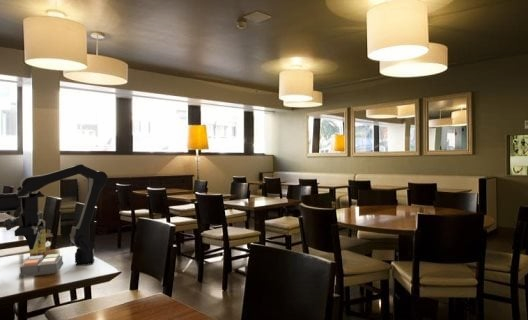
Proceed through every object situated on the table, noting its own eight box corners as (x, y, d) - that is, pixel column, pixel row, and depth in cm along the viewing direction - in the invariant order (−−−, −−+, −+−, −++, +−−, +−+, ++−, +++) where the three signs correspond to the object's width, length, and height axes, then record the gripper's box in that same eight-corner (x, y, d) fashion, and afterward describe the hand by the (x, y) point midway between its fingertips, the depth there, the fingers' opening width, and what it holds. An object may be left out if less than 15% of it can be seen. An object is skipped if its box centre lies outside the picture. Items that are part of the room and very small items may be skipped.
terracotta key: (39, 264, 146) (39, 259, 145) (36, 267, 141) (36, 262, 141) (26, 265, 144) (26, 260, 144) (23, 268, 140) (23, 263, 140)
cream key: (56, 262, 147) (56, 257, 147) (54, 265, 143) (54, 260, 143) (44, 263, 146) (44, 258, 146) (41, 266, 142) (41, 261, 142)
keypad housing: (63, 263, 155) (63, 255, 154) (57, 272, 143) (56, 263, 143) (28, 267, 150) (28, 258, 150) (19, 276, 139) (19, 267, 139)
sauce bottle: (40, 257, 164) (39, 213, 163) (26, 258, 164) (25, 213, 163) (49, 253, 170) (48, 211, 170) (35, 253, 170) (34, 211, 170)
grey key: (43, 260, 151) (43, 255, 151) (40, 263, 147) (40, 258, 147) (31, 261, 150) (30, 256, 150) (27, 264, 146) (27, 259, 146)
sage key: (59, 258, 153) (59, 253, 153) (57, 261, 149) (57, 256, 149) (47, 259, 152) (47, 254, 152) (45, 262, 148) (45, 257, 148)
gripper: (13, 207, 148) (14, 245, 149) (-3, 214, 131) (-2, 258, 131) (45, 205, 152) (46, 243, 152) (33, 212, 134) (34, 254, 135)
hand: (31, 249), depth 143 cm, fingers closed
